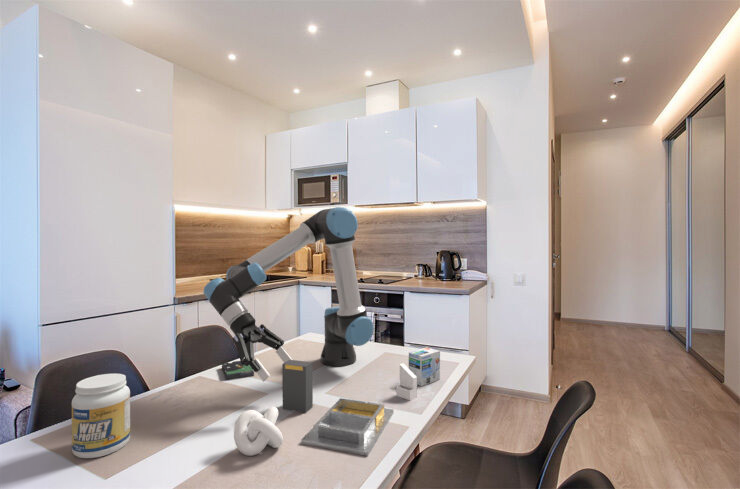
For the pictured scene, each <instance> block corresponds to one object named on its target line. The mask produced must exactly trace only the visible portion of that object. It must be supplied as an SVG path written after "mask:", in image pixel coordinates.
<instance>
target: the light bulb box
mask: <svg viewBox="0 0 740 489" xmlns="http://www.w3.org/2000/svg"><path fill="white" fill-rule="evenodd" d="M408 369H409V370H410V371H411V372H412V373H413V374H414V375H415V376H416V377H417V386H420V387H423V386H426V385H428V384H432V383H434V382H437V381H439V380H440V379H441V350H437V349H434V348H430V347H427V346H426V347H424V348H420V349H417V350H413V351H409V352H408Z"/></svg>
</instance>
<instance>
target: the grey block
mask: <svg viewBox="0 0 740 489" xmlns="http://www.w3.org/2000/svg"><path fill="white" fill-rule="evenodd" d="M281 367H282V368H281V370H282V371H281V373H282V374H281V376H282V378H281V379H282V382H281V383H282V410H284V411H290V412H297V413H304V414H307V413H308V412H309V411H310V410H311V409H312V408H313V405H314V403H313V394H314V392H313V387H314V386H313V385H314V384H313V383H314V382H313V380H314V379H313V378H314V377H313V375H314V374H313V373H314V372H313V361H305V360H296V359H295V360H294V359H293V360H288V361H287V362H285V363H284V362H283V363H282V366H281Z"/></svg>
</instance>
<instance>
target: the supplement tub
mask: <svg viewBox="0 0 740 489" xmlns="http://www.w3.org/2000/svg"><path fill="white" fill-rule="evenodd" d="M74 392H75V395H74V397H73V398H72V400H71V450H72V453H73V455H74V456H76V457H77V458H79V459H95V458H100V457H103V456H107V455H110V454H113V453H115V452H117V451H119V450H120V449H122V448H123V447H125V445H126V444H127V443H128V442H129V441H130V439H131V390H130V387H129V386H128V385H127V377H126V374H123V373H116V372H115V373H104V374H103V373H102V374H97V375H94V376H90V377H87V378H83V379H82V380H80V381H78V382H77V383H76V385H75V390H74Z"/></svg>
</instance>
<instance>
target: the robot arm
mask: <svg viewBox="0 0 740 489" xmlns="http://www.w3.org/2000/svg"><path fill="white" fill-rule="evenodd" d="M358 226H359V224H358V219H357V216H356V214H355V213H354V212H353V211H352V210H351V209H349V208H347V207H341V206H338V207H336V206H335V207H332V208H326V209H325V208H324V209H322V210H320V211H318V212H316V213H314V214H313V215H311V216H310V217H309V218H307V219H305V220H304V221H303V222H301V223H300V224H299V227H298V228H296V229H294V230H293V231H291V232H290V233H288V234H286V235H284V236H283V237H281V238H280V239H278V240H276V241H275V242H273V243H272V244H270V245H268V246H267V247H265V248H264V249H262V250H260V251H258V252H257V253H255V254H253V255H252V256H250V257H249V258H246V259H245V260H244V261H242V262H240V263H239V264H236V265H233V266H230V267H229V268H228V269H227V271H226V274H225V275H226V276H225V277H226V280H225V279H223V278H222V277H216V278H215V279H212V280H210V281H209V282H208V283H207V284H206V285H205V286H204V287H203V290H202V291H203V294H204V295H205V297H206V299H207V300H208V302H209V303H210V304H211V306H212V307H213V308H214V309H215V311H216V312H217V313H218V314H219V316H220V317H221V318H222V319H223V320H224V322H225V323H226V325H227V326H228V327H229V329H230V330H231V331H232V332H233V335H234V336H233V337H232V341H233V343H234V344H235V346H236V350H237V353H238V357H239V361H241V364H242V365H244V364H245V366H248V365H250V366H251V368H252V369H253V371H254V373H256V374H257V375H258V377H259V378H260V380H261V381H262V382H265V381H266V380H267V379H268V378H269V377H271V374H270V372H268V370H267V369H266V367H264V365H263V364H262V362H261V361H260V360H259V359H258V357H257V358H255V350H254V349H255V347H254V344H257V343H261V344H264V345H265V346H267V347H270V348H271V349H273V350H276V351H275V353H276V355H277V356H278V357H279V358H280V359H281V361H282V362H283V363H285V362H287V361H288V360H294V359H293V358H292V357H291V356H290V355H289V353H288V352H287V350H286V349H285V348H284V346H283V345H284V344H285V340H283V339H282V338H281V337H280V336H278V335H277V334H275V333H274V332H273V331H271V330H270V329H269V328H267V327H266V326H265V325H264V324H260V325H259V326H257V325H256V318H254V316H253V315H252V314H251V312H249V309H248V308H247V307H246V306H245V305H244V304H243V302H242V301H241V300H240V299H241V298H243V297H244V296H245V295H247V294H248V293H249V292H252V291H253V290H254V289H256V288H257V287H259V286H261V284H263V283H264V282H265V281H266V280H267V274H266V272H267V271H269V270H270V269H272V268H273V267H274V266H276V265H278V264H279V263H281V262H283V261H284V260H286V259H287V258H289V257H290V256H291V255H293V254H295V253H296V252H298V251H300V250H301V249H303V248H304V247H306V246H308V245H309V244H312V245H313V244H315V243H316V242H318V241H321V240H324V243H325V244H324V245H325V246H326V247H327V248H329V250H330V256H331V262H332V269H333V274H334V275H333V276H334V280H335V287H336V292H337V293H336V294H337V298H338V305H339V306H332V307H331V306H330V307H327V308H325V310H324V316H323V317H324V344H323V348H322V350H321V353H320V362H321V364H323V365H325V366H330V367H343V366H344V367H345V366H348V365H353V364H355V363H356V362H357V354H356V350H355V348H354V346H355V347H362V346H365V345H366V344H368V342H369V341H371V338H372V337H373V334H374V331H375V328H374V322H373V321H372V319H370V318H369V317H368V314H367V308H366V306H364V305H362V301H361V300H362V299H361V294H360V288H359V282H358V277H357V276H358V275H357V270H356V265H355V256H354V251H353V244H354V243H355V241H356V238H355V234H356V232H357V230H358V228H359V227H358Z"/></svg>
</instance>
